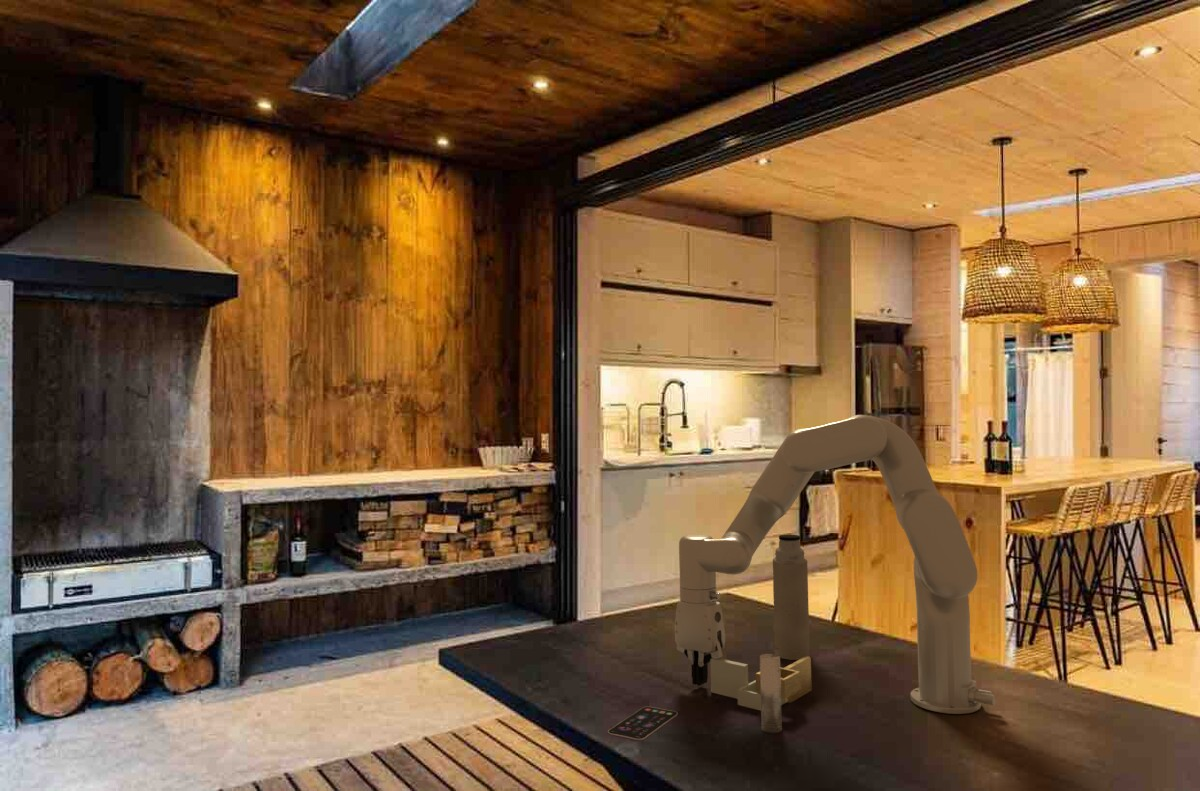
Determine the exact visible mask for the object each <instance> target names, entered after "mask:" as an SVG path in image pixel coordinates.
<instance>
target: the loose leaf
mask: <svg viewBox="0 0 1200 791" xmlns="http://www.w3.org/2000/svg"><path fill="white" fill-rule="evenodd" d="M709 664H710V692H711V693H713V694H716V695H721V696H725V697H729V698H732V699H737V705H738V706H741V707H744V708H749V709H753V710H757V711H760V712H761V693H759V692H756V679H755V680H753V681H751V682H749V664H748V663H742V662H738V661H734V660H733V661H732V660H729V659H725V658H720V659H716V660H714V659H710V663H709ZM786 703H787V702H786V699H784V698H781V706H782V705H783V706H784V704H786Z"/></svg>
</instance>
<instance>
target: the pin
mask: <svg viewBox="0 0 1200 791" xmlns="http://www.w3.org/2000/svg"><path fill="white" fill-rule="evenodd" d="M780 667H781V658H780V656H778V655H775V653H774V654H773V653H764V654H763V653H762V654H761V655H759V672H760V688H761V711H760V717H761V718H760V719H761V722H760V723H761V725H760V727H761V730H762V731H763V732H766V733H769V734H776V733H777V734H779V733H781V732H782V731H783V727H782V726H783V725H782V724H783V721H782V720H783V718H782V705H781V677H780Z"/></svg>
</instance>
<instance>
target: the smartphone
mask: <svg viewBox="0 0 1200 791" xmlns="http://www.w3.org/2000/svg"><path fill="white" fill-rule="evenodd" d="M678 714H679V713H678V711H675V710H669V709H664V708H659V707H655V706H654V707H653V706H643V707H641V708H640V709H639V710H637V711H635V712H634V713H632V714H631V715H630V716H629V715H628V716H627V717H626V718H625V719H624V720H621V721H620V722H618V723H617V724H616V725H614V726H612V727H611V728H610V729H608V730H607V734H609V735H611V736H616V737H620V738H625V739H629V740H634V741H645V740H646V739H647V738H649V737H650V736H651V735H652V734H654V733H656V732H657V731H658V730H659V729H661V728H662V727H663V726H665V725H666V724H668V723H669V722H671V721H672V720H673V719H674V718H676V717H677V716H678Z"/></svg>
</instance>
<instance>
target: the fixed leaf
mask: <svg viewBox="0 0 1200 791" xmlns="http://www.w3.org/2000/svg"><path fill="white" fill-rule="evenodd" d="M811 659H812V658H811V656H809V657H808V656H806V657H804V658H802V659H800V660H795V661H794V662H793V663H791V664H788V665H787V666H785V667H782V666H780V677H781V698H784V699H786V703H790V704H791V703H793V702H794V701H796V700H798V699H800V698H802V697H803V696H804V695H806V694H808V693H809V692H811V691H812V660H811ZM755 680H756V692H759V693H761V688H760V671H758V672H756V673H755Z"/></svg>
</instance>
